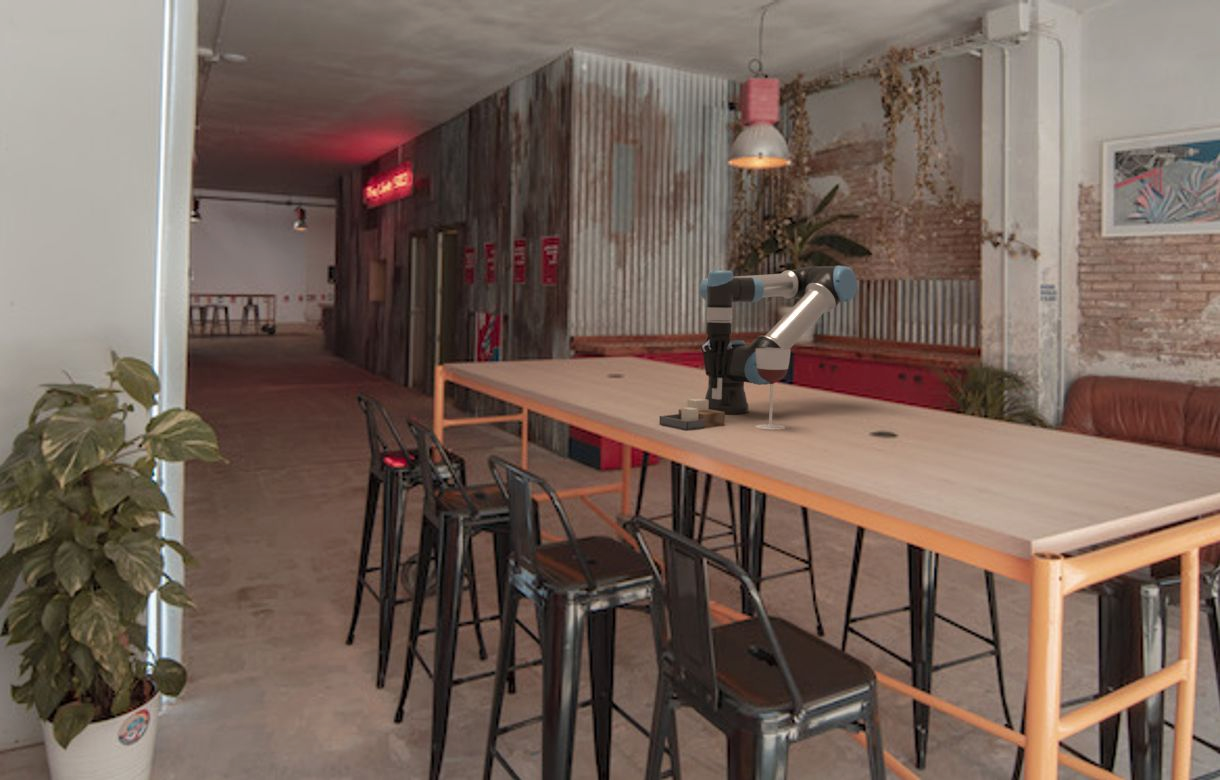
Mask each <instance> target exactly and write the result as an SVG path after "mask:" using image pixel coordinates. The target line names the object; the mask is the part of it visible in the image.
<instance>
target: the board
mask: <svg viewBox="0 0 1220 780" xmlns="http://www.w3.org/2000/svg"><path fill="white" fill-rule="evenodd" d="M681 412H682V408H681V409H678V414H679V420H681ZM725 416H726V414H725V412H722V411H716V410H711V409H708V410H702V411H698V420H701V419H705V428H704V429H706V428H707V429H708V428H715V427H723V426H725V422H726V421H725Z"/></svg>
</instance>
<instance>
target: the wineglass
mask: <svg viewBox="0 0 1220 780" xmlns="http://www.w3.org/2000/svg"><path fill="white" fill-rule="evenodd" d="M791 352H792V351H791V348H790V349H784V348H756V364H757V371H758V374H759V376H760V377H761V378H763V379H764V380H766V381H767V382H769V383H770V384H769V385H770V386H769V411H768V412H769V414H768V415H769V417H768V423H767V424H757V425H755V427H756V428H758V429H763V430H784V429H785V428H786V426H784V425H779V424H773V408H774V407H773V406H774V403H773V402H774V384H775V383H777V382H778V381H781V380H782V379H785V377H786V376H787V374H788V369H789V366H790V360H791Z"/></svg>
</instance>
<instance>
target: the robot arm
mask: <svg viewBox="0 0 1220 780" xmlns="http://www.w3.org/2000/svg"><path fill="white" fill-rule="evenodd" d="M707 275H708V276H707V277H706V278H704V279H703V280H702V281H701V283H700V285H699V295H700V296H701V298H702V299H703V300H704V301H706V302H707V303H706V304H707V305H706V320H707V321H708V322H706V335H707V339H706V342H705V343H704V344H700V346H699V347H700V350H701V353H702V356H703V363H704V364H703V365H704V369H705V370H704V371H705V375H706V376H708V386H707V391H706V394H705V398H704V399H706V400H709V403H708V409H711V410H716V411H722V412H725V415H736V414H738V415H739V414H745V413H749V409H750V408H749V405H750V404H749V403H748V401H747V399H748V398H747V396H746V391H745V383H748V384H754V385H759V386H761V385H764V386H765V385H767V386H768V385H770V383H769V382H767V381H766V380H764V379H763V378H761V377H760V376H759V374H758V371H757V364H756V348H784V349H791V348H792V347H794V345H795V344H796V343H797V342H798V341H799V340H800V339H801V338H802V336H803V335H804V334H806V332H807V331H808V330H809V329H811V327H812V326H813V325H814V324H815V322H817V320H819V319H820V317H821V316H822V315H823V314H824V313H825V312H826V313H828V312H832V311H833V310H834V309H835V308H836V307H837V306H838V305H839V304H840V303H847V302H850V301H851V300H853V299H854V297H855V296H856V293H857V288H858V287H857V286H858V285H857V284H858V283H857V282H858V281H857V277H856V273H855V271H853V269H852V268H851V267H849V266H845V265H833V266H832V265H828V266H827V265H824V266H821V265H820V266H818V265H815V266H814V265H813V266H806V267H802V268H796V269H789V270H788V269H787V270H784V271H782V272H781V273H774V274H773V273H772V274H771V273H770V274H769V273H768V274H755V275H739V276H734V271H732V270H711V271H709V272H708V274H707ZM775 297H782V298H784V299H789V300H790V299H798V301H797V302H795V305H794V306H792V307H791V308H790V310H788V312H787V313H786V314H785V315H784V316H783V317H782V318H781V319H780V320H778V322H777V323H776V324H775V325H774V326H773V327H772V328H771V329H770V330H769V331H768V332H767V333H766V334H765V335H758V336H757V337H756V338H755V339H754V340H753V341H752V342H751V343H750V344H749V345H746V342H745V341H744V340H731V338H730V335H732V322H731V321H732V320H733V317H732V316H733V313H732V312H733V303H749V304H750V303H756V302H757V303H758V302H760V300H761V299H763V298H775Z"/></svg>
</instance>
